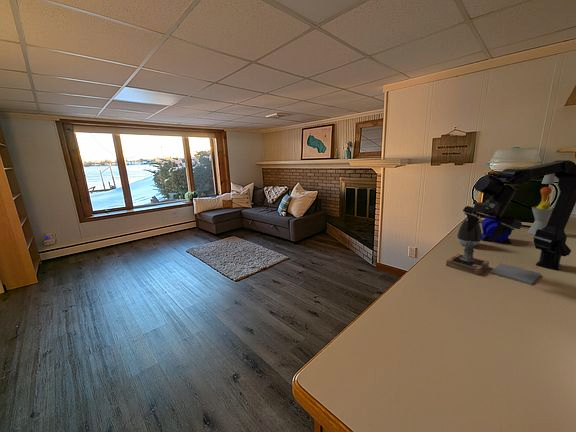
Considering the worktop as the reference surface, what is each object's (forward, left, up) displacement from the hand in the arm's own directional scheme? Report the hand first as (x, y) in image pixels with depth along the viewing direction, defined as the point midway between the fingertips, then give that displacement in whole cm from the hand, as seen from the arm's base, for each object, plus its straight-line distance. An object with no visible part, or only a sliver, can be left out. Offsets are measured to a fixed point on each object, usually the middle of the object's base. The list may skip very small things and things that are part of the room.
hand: (478, 236), depth 95 cm
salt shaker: (-2, -3, -15) cm, 16 cm away
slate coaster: (-8, +11, -15) cm, 20 cm away
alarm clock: (-49, -7, -15) cm, 52 cm away
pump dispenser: (-31, -13, -15) cm, 37 cm away
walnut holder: (-2, -3, -15) cm, 15 cm away
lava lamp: (-79, +4, -15) cm, 81 cm away
